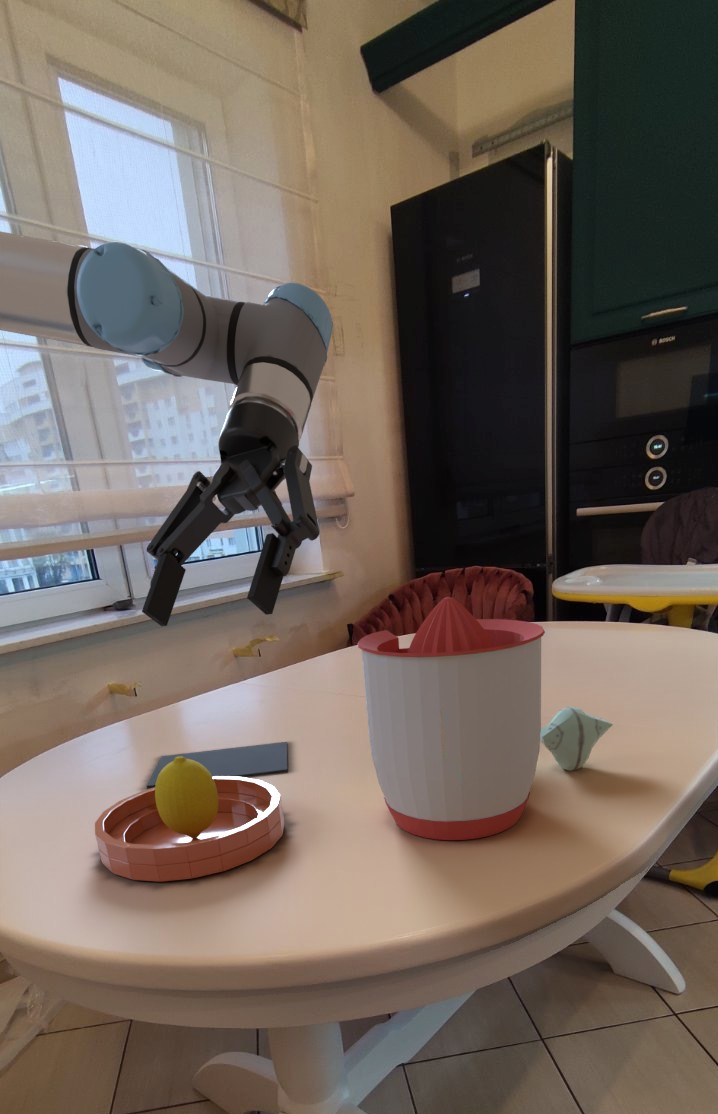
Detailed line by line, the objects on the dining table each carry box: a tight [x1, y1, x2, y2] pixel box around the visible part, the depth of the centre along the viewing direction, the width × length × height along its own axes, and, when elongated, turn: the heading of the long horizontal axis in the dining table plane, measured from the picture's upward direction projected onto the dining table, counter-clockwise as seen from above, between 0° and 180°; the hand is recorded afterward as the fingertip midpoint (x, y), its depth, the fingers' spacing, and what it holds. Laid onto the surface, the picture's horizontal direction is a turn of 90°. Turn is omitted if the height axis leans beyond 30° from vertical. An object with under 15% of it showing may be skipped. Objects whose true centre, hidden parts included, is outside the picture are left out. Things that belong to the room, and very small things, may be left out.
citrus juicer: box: [357, 596, 546, 841], centre depth 64 cm, size 16×17×20 cm
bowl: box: [94, 776, 285, 882], centre depth 67 cm, size 17×17×4 cm
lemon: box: [155, 756, 219, 839], centre depth 66 cm, size 6×6×8 cm
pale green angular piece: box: [540, 706, 614, 771], centre depth 75 cm, size 8×4×7 cm, turn 105°
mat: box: [146, 741, 289, 790], centre depth 87 cm, size 16×11×1 cm
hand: (204, 613), depth 67 cm, fingers open, 13 cm apart
